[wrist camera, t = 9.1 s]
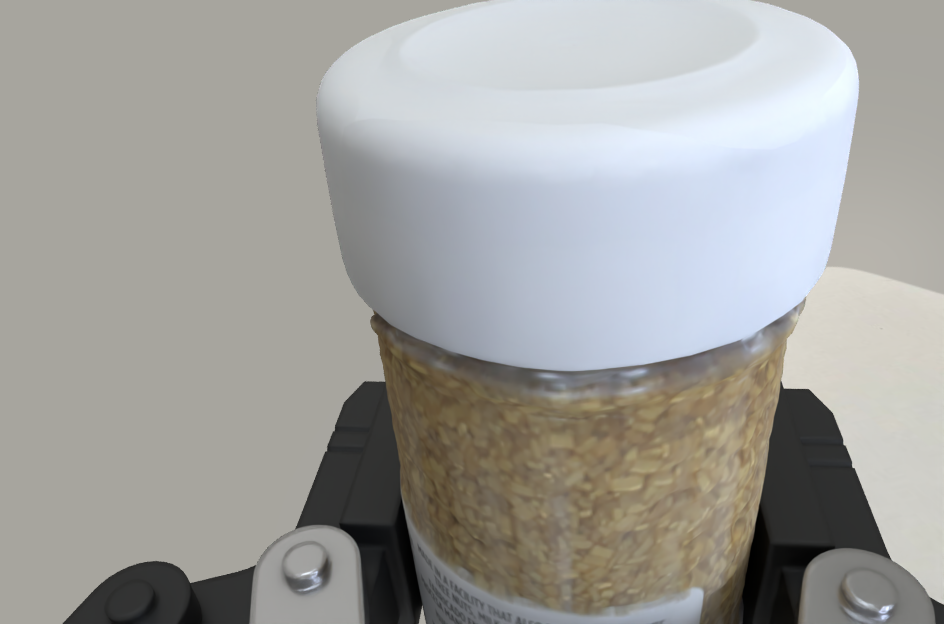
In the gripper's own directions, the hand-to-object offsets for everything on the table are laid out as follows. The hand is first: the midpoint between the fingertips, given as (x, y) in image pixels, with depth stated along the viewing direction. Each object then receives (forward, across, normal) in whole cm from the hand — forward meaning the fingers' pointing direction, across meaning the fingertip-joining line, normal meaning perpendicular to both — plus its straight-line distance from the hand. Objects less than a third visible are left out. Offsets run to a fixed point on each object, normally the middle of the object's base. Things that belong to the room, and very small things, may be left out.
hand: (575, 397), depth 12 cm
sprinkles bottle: (-3, 0, +7) cm, 8 cm away
